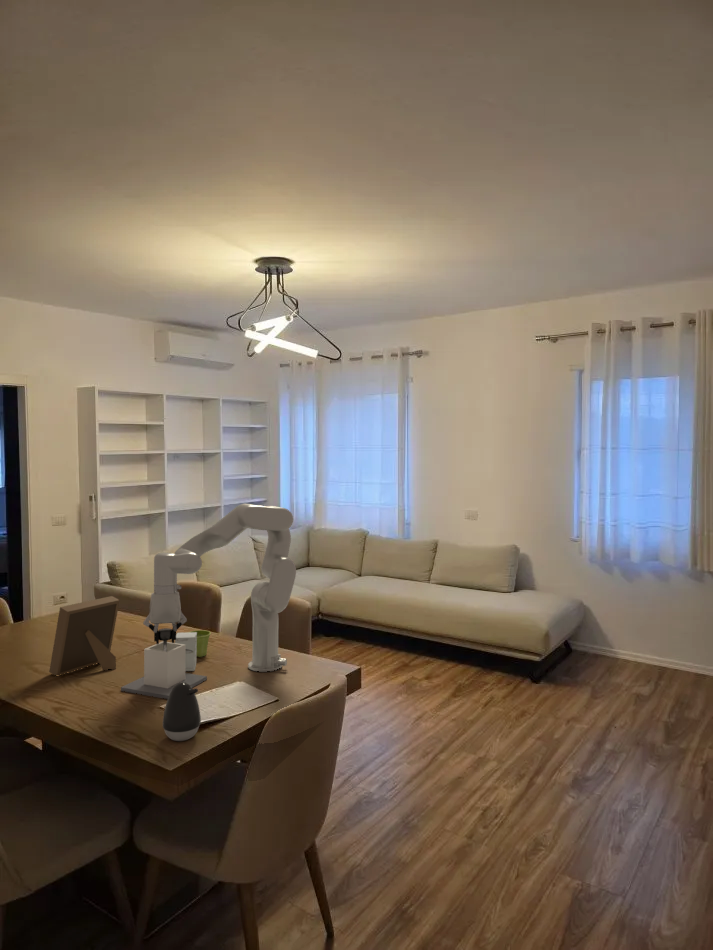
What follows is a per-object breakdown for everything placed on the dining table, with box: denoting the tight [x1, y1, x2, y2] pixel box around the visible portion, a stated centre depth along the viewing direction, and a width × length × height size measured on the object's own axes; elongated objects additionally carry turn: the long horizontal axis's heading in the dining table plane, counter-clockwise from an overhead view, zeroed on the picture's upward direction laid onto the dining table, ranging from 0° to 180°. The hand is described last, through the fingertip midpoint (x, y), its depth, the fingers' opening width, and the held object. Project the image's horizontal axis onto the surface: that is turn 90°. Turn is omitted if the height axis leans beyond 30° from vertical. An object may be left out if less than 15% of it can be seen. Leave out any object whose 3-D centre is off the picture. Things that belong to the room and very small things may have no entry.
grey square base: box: [120, 641, 208, 700], centre depth 215 cm, size 20×20×13 cm
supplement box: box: [174, 631, 197, 672], centre depth 232 cm, size 7×7×13 cm
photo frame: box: [49, 595, 120, 676], centre depth 229 cm, size 15×22×25 cm
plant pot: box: [190, 629, 212, 658], centre depth 248 cm, size 9×9×9 cm
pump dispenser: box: [162, 682, 202, 742], centre depth 175 cm, size 10×10×15 cm
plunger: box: [158, 628, 172, 651], centre depth 215 cm, size 7×7×17 cm
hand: (165, 642), depth 214 cm, fingers closed on plunger, 4 cm apart
